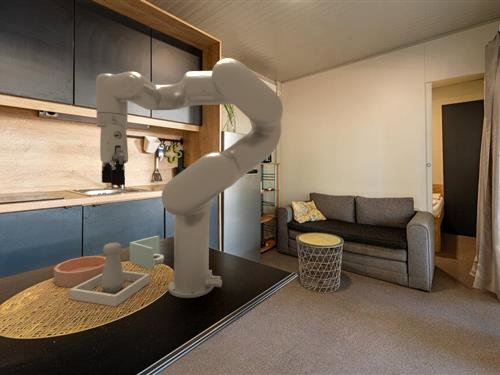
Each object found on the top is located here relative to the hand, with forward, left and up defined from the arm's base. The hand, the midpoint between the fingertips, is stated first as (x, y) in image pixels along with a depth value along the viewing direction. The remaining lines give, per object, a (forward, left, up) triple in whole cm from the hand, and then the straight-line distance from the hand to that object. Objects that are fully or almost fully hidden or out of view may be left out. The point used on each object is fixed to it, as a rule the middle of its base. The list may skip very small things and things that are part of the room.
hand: (112, 183), depth 70 cm
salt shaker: (-2, +3, -29) cm, 30 cm away
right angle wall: (0, -20, -30) cm, 36 cm away
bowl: (+13, -2, -29) cm, 32 cm away
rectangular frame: (-2, +3, -29) cm, 29 cm away
